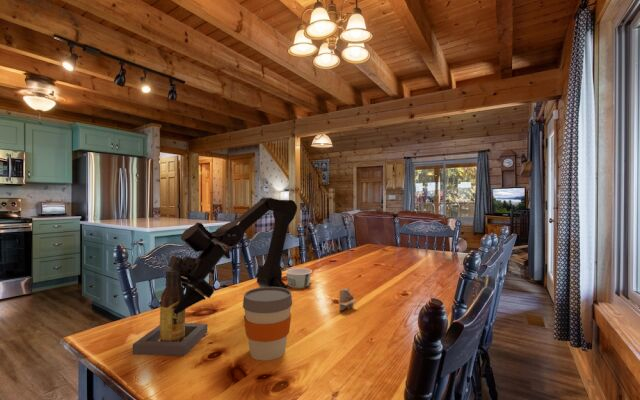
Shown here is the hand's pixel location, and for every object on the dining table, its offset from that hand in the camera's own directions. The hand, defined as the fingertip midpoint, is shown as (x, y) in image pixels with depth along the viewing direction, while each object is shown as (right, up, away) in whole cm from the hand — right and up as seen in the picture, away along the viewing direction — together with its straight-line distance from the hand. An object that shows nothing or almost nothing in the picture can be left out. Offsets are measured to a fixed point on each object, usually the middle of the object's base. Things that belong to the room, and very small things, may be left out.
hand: (167, 308), depth 84 cm
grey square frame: (+1, -10, +1) cm, 10 cm away
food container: (+32, -9, +56) cm, 65 cm away
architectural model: (+51, -10, +27) cm, 58 cm away
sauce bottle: (+1, -10, +1) cm, 10 cm away
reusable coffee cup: (+28, -10, -4) cm, 30 cm away
